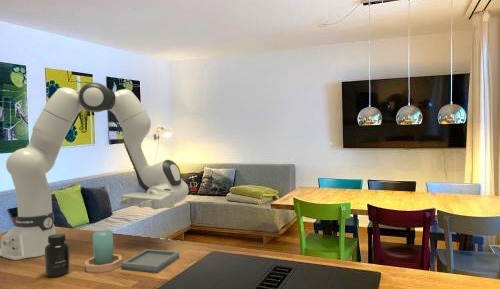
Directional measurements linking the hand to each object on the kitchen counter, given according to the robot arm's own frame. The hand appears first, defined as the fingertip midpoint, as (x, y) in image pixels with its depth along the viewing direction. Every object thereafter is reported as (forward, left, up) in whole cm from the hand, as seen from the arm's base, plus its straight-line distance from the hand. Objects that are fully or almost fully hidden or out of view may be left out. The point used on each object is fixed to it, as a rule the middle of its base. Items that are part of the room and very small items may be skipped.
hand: (129, 204), depth 132 cm
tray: (+12, -6, -18) cm, 22 cm away
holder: (-2, -12, -18) cm, 22 cm away
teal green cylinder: (-2, -12, -18) cm, 22 cm away
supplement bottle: (-12, -21, -18) cm, 30 cm away
